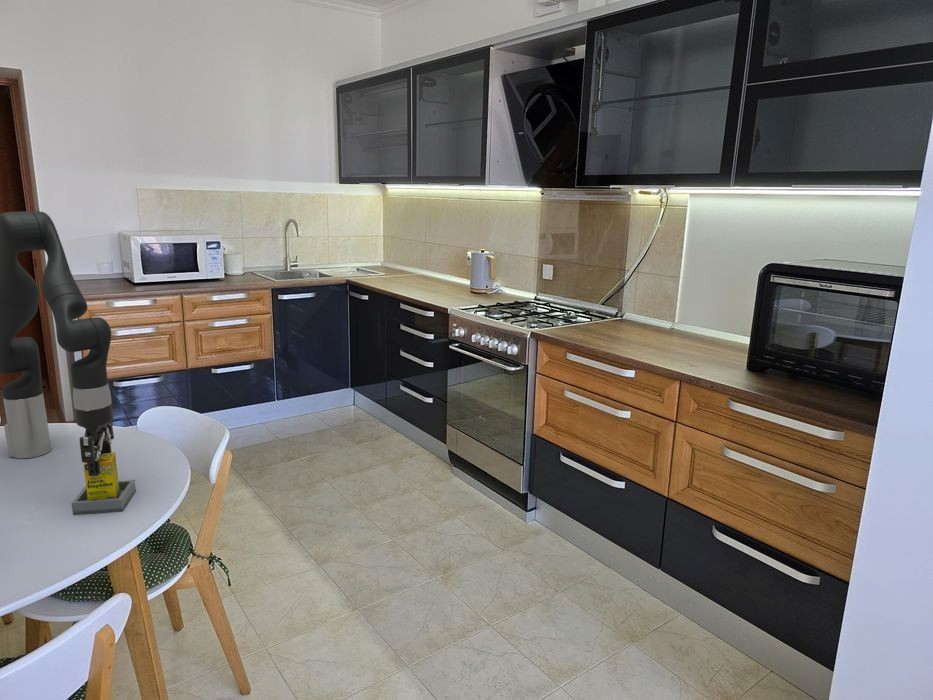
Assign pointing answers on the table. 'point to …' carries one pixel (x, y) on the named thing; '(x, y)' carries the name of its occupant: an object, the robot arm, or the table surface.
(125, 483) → the holder
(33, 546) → the table surface
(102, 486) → the supplement box
